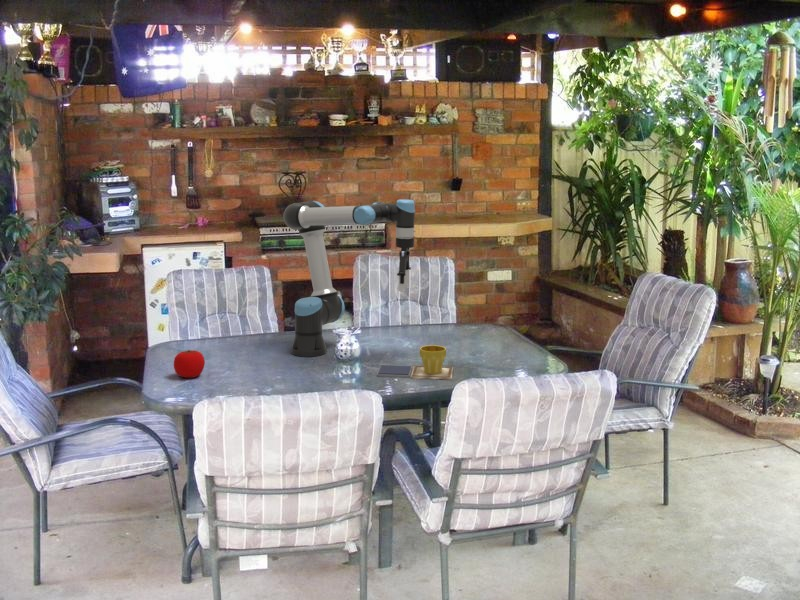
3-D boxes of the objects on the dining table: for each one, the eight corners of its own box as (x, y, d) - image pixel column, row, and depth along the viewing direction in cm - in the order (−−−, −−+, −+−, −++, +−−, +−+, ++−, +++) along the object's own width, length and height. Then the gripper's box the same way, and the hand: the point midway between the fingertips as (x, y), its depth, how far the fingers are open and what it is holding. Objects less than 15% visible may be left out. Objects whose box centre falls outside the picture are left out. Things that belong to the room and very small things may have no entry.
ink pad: (376, 376, 357) (376, 373, 357) (380, 367, 370) (380, 364, 370) (409, 377, 356) (409, 374, 356) (412, 368, 369) (412, 365, 368)
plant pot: (427, 376, 354) (427, 352, 352) (414, 370, 363) (415, 346, 361) (450, 373, 359) (451, 349, 357) (437, 367, 368) (437, 343, 366)
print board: (410, 378, 354) (410, 376, 354) (413, 367, 370) (413, 365, 370) (451, 380, 353) (451, 377, 353) (453, 369, 369) (453, 366, 368)
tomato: (177, 381, 348) (176, 355, 346) (171, 374, 358) (170, 348, 356) (208, 378, 352) (207, 352, 350) (202, 370, 363) (201, 345, 361)
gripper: (411, 241, 362) (409, 294, 366) (416, 234, 386) (415, 283, 390) (392, 241, 363) (391, 293, 367) (399, 233, 387) (398, 282, 391)
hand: (403, 288), depth 379 cm, fingers open, 13 cm apart
